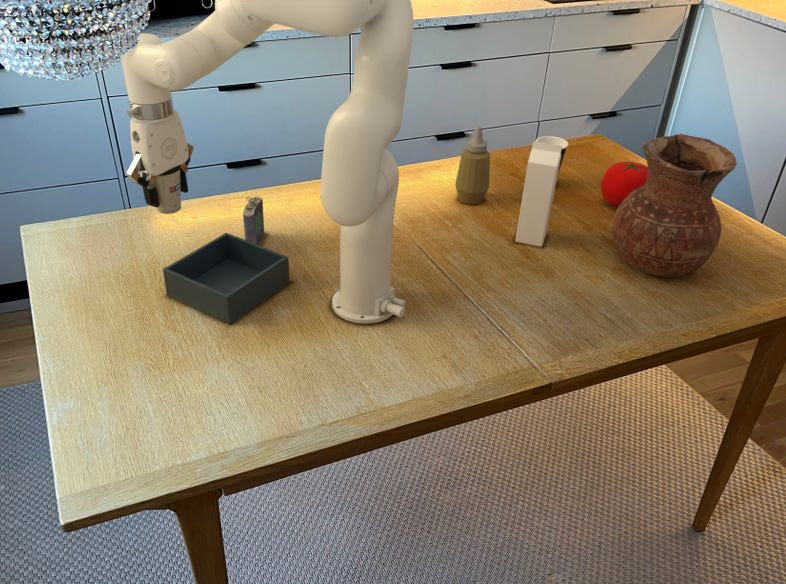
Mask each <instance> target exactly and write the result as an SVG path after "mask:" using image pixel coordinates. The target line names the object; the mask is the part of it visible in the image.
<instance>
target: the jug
mask: <svg viewBox="0 0 786 584" xmlns="http://www.w3.org/2000/svg"><path fill="white" fill-rule="evenodd" d="M641 150H642V151H643V153H644V156H645V160H646V164H647V165H646V166H647V167H648V175H647V180H646V183H645V184H644V185H643V186H641V187H639V188H637V189H636V190H634V191H633V192H631V193H630V194H629V195H628V196H627V197H626V198H625V199H624V200H623V201H622V203H621V204H620V205H619V207H618V208H617V209H616V210H615V213H614V216H613V220H612V228H611V229H612V239H613V241H614V245H615V248H616V249H617V252H618V253H619V255H620V257H621V258H622V259H623V260H624V262H626V263H627V264H628V265H629V266H630V267H632V268H634V269H635V270H637V271H639V272H641V273H643V274H646V275H649V276H655V277H661V278H677V277H682V276H684V275H688V274H689V273H691V272H693V271H696V270H697V269H699V268H700V267H702V266H703V265H704V264H705V263H706V262H707V261H708V260H709V258H710V257H711V256H712V255H713V253H714V251H715V249H716V248H717V247H718V244H719V242H720V238H721V235H722V223H721V218H720V214H719V212H718V210H717V207H716V205H715V203H714V201H713V200H712V198H713V194H714V193H715V190H716V189H717V187H718V186H719V184H720V183H721V182H722V181H723V180H725V178H726V177H727V176H728V175H729V174H730V173H732V171H734V170H735V169H736V166H737V164H738V162H737V159H736V157H735V155H734V153H733V152H732V151H730V150H729V149H728V148H726V147H725V146H723V145H721V144H720V143H717V142H714V141H712V140H711V139H708V138H706V137H698V136H695V135H689V134H684V133H678V134H676V133H675V134H673V135H670V136H669V135H665V136H664V135H663V136H658V137H655V138H654V139H652V140H648V141H646V142H644V143H643V145H642V149H641Z"/></svg>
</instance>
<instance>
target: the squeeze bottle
mask: <svg viewBox="0 0 786 584" xmlns="http://www.w3.org/2000/svg"><path fill="white" fill-rule="evenodd" d="M483 137H484V136H483V128H482V126H480V125H477V126H476V127H475V130H474V133H473V136H472V138H470V139H469V140H467V142H466V147H465V149H463V150H462V151H461V157H460V160H459V164H458V170H457V174H456V179H455V182H454V183H455V184H454V185H455V189H456V193H457V197H458V200H459V201H460V202H462V203H464V204H469V205H477V204H480V203H482V202H483V200H484V199H485V196H486V194H487V192H488V191H489V188H490V169H491V167H490V166H491V153H490V152H489V151H488V149H487V148H488V142H487V141H486V140H484V138H483Z"/></svg>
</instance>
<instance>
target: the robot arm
mask: <svg viewBox="0 0 786 584" xmlns="http://www.w3.org/2000/svg"><path fill="white" fill-rule="evenodd" d="M274 25H279V26H283V27H287V28H290V29H295V30H298V31H304V32H307V33H311V34H314V35H315V34H316V35H318V36H319V35H320V36H324V37H331V38H340V37H341V38H342V37H346V36H348V35H352V34H353V33H355V32H356V31H358V30H359V29H360V35H359V39H358V43H357V47H356V50H355V57H354V63H353V65H354V67H353V68H354V69H353V77H352V83H351V90H350V93H349V95H348V97H347V98H346V100H345V101H344V102H343V103H342V104H341V105H340V106H339V107H338V108H337V109H335V111H334V112H333V114H331V117H330V118H329V121H328V123H327V126H326V129H325V134H324V141H323V152H322V153H323V154H322V164H321V165H322V166H321V177H320V199H321V204H322V207H323V209H324V211H325V213H326V215H327V216H328V218H330V219H331V220H332V221H333V222H334V223H336V224H338V225H339V289H338V290H337V291H336V292H335V293H334V294H333V296H332V298H331V308H332V310H333V312H334V313H335V314H336V315H337V316H338V317H340V318H341V319H343V320H345V321H348V322H350V323H355V324H362V325H363V324H364V325H365V324H366V325H367V324H369V325H370V324H376V323H381V322H383V321H385V320H386V321H387V320H388V319H389V318H391V317H392V316H393V315H394V316H395V317H399V318H403V316H404V315H405V311H406V309H405V306H406V303H407V302H406V300H403V299H402V298H398V297H397V296H396V295H395V294H396V293H395V292H396V288H395V287H394V286H391V274H392V273H391V270H392V252H393V250H392V249H393V236H394V235H393V233H394V221H395V211H396V210H395V209H396V204H397V203H396V202H397V197H398V191H399V183H400V182H399V181H400V173H399V166H398V163H397V160H396V159H395V157H394V156H393V154H392V153H391V152H390V151H389V150H388V149H387V147H389V145H390V144H391V143H392V142H393V141H394V140H395V138H396V137H397V135H398V134H399V132H400V130H401V127H402V123H403V113H404V106H405V105H404V104H405V99H406V92H407V86H408V85H407V84H408V76H409V67H410V61H411V60H410V59H411V52H412V47H413V38H414V11H413V5H412V1H411V0H214V11H213V12H212V13H211V14H210V15H209V16H207V17H206V18H205V19H204V20H202V22H200V23H199V24H198V25H196V26H195V27H194V28H192V29H191V30H190V31H188V32H186V33H183V34H181V35H179V36H177V37H175V38H173V39H172V40H169V41H166V42H163V40H162V39H161V38H160V37H159V36H158V35H156V34H153V33H139V34H140V35H139V41H138V44H137V46H136V47H135V48H134V49H132V50H130V51H128V52H126V53H125V54H124V55H123V57H122V59H121V58H120V60H121V66H122V71H123V76H124V81H125V86H126V92H127V98H128V103H129V107H130V108H129V109H127V111H126V114H127V116H128V117H129V118H131V119H130V123H129V125H130V126H129V128H130V129H129V130H130V133H129V134H130V144H131V153H132V158H133V160H132V163H131V164H130V165H129V167H128V169H127V171H126V176H127V177H128V178H129V179H130V180H132V181H133V182H134V183H135V184H137V185H138V186H140V187H142V191H143V196H144V201H145V204H146V205H148V206H150V207H154V208H155V209H157V207H159V205H160V204H159V198H158V193H157V188H155V187H154V182H155V177H156V176H157V175H160V174H162V173H164V172H166V171H168V170H170V169H172V168H174V167H177V166H179V165H181V168H180V189H181V192H182V193H184V194H187V193H189V185H188V179H187V173H188V171H189V164H190V162H191V157H192V154H193V152H194V149H195V148H194V146H193V145H192V144H190V143H188V142H187V138H186V133H185V129H184V126H183V123H182V122H183V121H182V120H181V117H180V115H179V113H178V111H177V109H175V108H174V103H173V97H172V91H181V90H184V89H186V88H188V87H189V86H191V85H193V84H194V83H196V82H198V81H199V80H201V79H202V78H204V77H206V76H208V75H209V74H211V73H213V72H214V71H216V70H218V69H219V67H221V66H222V65H224V64H225V63H226V62H228V60H230V59H231V58H233V57H234V56H235V55H237V54H238V53H239V52H240V51H241V50H243V49H244V48H246V46H249V45H251V44H252V43H253V42H254V41H255V40H257V39H258V38H259V37H260V36H261V35H263V34H264V33H265V32H267V31H268V30H269V29H270V28H271V27H273V26H274ZM139 172H140V174H139ZM147 174H149V177H148V179H147Z"/></svg>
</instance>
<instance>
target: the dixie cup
mask: <svg viewBox="0 0 786 584" xmlns="http://www.w3.org/2000/svg"><path fill="white" fill-rule="evenodd" d="M535 142H539V143H545V144H552V145H558V146H561V147H562V149H561V160H560V165H559V170H558V174H559V173H560V170H561V167H562V163H563V161H564V158H565V154H566V150H567V148H568V147H569V142H568V141H567V140H566V139H564V138H562V137H558V136H554V135H544V136H540V137H537V138H536V139H535ZM558 176H559V175H558ZM558 176H557V178H558Z"/></svg>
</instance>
